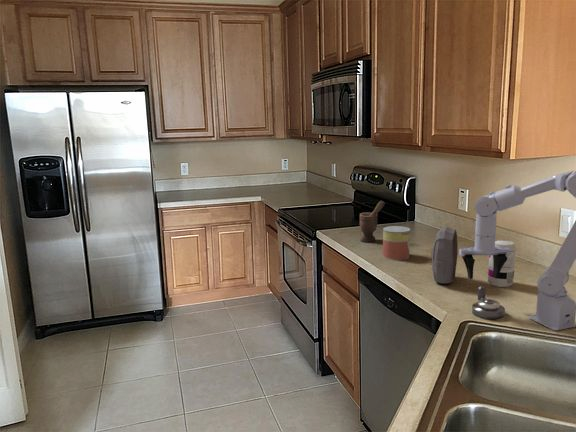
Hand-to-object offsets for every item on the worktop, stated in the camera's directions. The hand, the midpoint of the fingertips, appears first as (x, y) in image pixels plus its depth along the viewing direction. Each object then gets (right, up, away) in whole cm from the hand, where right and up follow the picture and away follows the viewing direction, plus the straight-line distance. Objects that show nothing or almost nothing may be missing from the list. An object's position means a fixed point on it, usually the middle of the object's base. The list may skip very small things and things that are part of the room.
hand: (482, 277), depth 146 cm
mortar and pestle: (-20, +7, +83) cm, 86 cm away
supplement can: (+15, -5, +21) cm, 26 cm away
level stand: (0, -10, -4) cm, 11 cm away
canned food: (-14, +2, +57) cm, 59 cm away
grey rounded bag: (-4, -5, +26) cm, 27 cm away
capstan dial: (0, -8, -2) cm, 8 cm away
